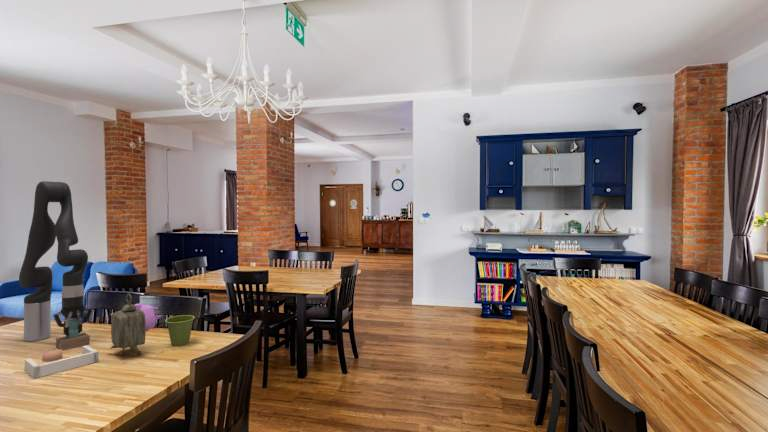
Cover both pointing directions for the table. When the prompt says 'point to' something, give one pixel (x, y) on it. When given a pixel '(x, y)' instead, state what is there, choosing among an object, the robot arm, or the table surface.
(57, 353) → the pink rounded dome
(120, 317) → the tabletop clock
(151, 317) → the teakettle
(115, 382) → the table surface
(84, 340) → the brown and teal block
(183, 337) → the plant pot
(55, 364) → the frame
